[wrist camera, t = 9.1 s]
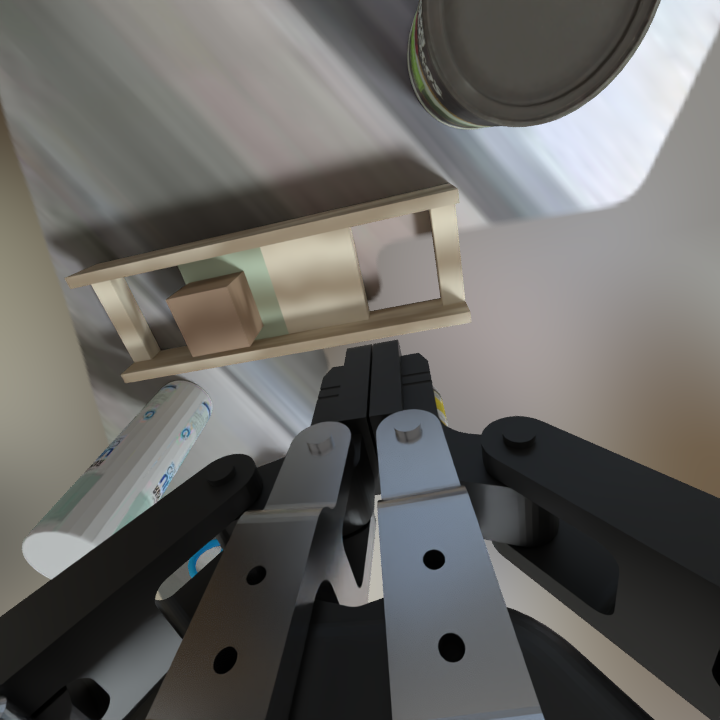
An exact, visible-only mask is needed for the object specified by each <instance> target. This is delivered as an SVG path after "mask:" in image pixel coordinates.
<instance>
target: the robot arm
mask: <svg viewBox="0 0 720 720" xmlns="http://www.w3.org/2000/svg"><path fill="white" fill-rule="evenodd" d="M320 389H321V391H320V392H319V396H318V400H317V404H316V407H315V411H314V415H313V419H312V423H311V426H310V427H308V428H306V429H304V430H303V431H301V432H300V433H299V434H298V435H297V436H296V437H295V438H294V440H293V441H292V443H291V445H290V448H289V450H288V452H287V455H286V457H284V458H282V459H279V460H277V461H274V462H271V463H269V464H266V465H263V466H260V467H258V468H257V467H256V465H255V463H254V461H253V459H252V458H251V457H250V456H247V455H244V454H232V455H228V456H225V457H222V458H220V459H217V460H215V461H214V462H212V463H210V464H209V465H207V466H206V467H205V468H203V469H202V470H200V471H199V472H198V473H196V474H195V475H194V476H192V477H191V478H189V479H188V480H187V481H185V482H184V483H183V484H181V485H180V486H179V487H177V488H176V489H174V490H173V491H172V492H170V493H169V494H168V495H166V496H165V497H164V498H162V499H161V500H159V501H158V502H157V503H155V504H154V505H153V506H151V507H150V508H148V509H147V510H146V511H144V512H143V513H142V514H140V515H139V516H138V517H136V518H135V519H133V520H132V521H131V522H129V523H128V524H127V525H125V526H124V527H122V528H121V529H120V530H118V531H117V532H116V533H114V534H113V535H112V536H110V537H109V538H107V539H106V540H105V541H103V542H102V543H101V544H99V545H98V546H97V547H95V548H94V549H92V550H91V551H90V552H88V553H87V554H86V555H84V556H83V557H81V558H80V559H79V560H77V561H76V562H75V563H73V564H72V565H71V566H69V567H68V568H66V569H65V570H64V571H62V572H61V573H60V574H58V575H57V576H56V577H54V578H53V579H51V580H50V581H49V582H47V583H46V584H45V585H43V586H42V587H41V588H39V589H38V590H36V591H35V592H34V593H32V594H31V595H30V596H28V597H27V598H25V599H24V600H23V601H21V602H20V603H19V604H17V605H16V606H15V607H13V608H12V609H10V610H9V611H8V612H6V613H5V614H4V615H2V616H1V617H0V720H654V719H653V718H652V717H651V716H650V715H649V714H647V713H646V712H645V711H644V710H643V709H642V708H641V707H640V706H639V705H637V704H636V703H635V702H634V701H633V700H632V699H631V698H630V697H629V696H627V695H626V694H625V693H624V692H623V691H622V690H621V689H620V688H619V687H618V686H616V685H615V684H614V683H613V682H612V681H611V680H610V679H609V678H608V677H607V676H606V675H604V674H603V673H602V672H601V671H600V670H599V669H598V668H597V667H596V666H594V665H593V664H592V663H591V662H590V661H589V660H588V659H587V658H586V657H585V656H583V655H582V654H581V653H580V652H579V651H578V650H577V649H576V648H575V647H573V646H572V645H571V644H570V643H569V642H568V641H566V640H565V639H564V638H563V637H561V636H560V635H558V634H557V633H556V632H554V631H553V630H552V629H550V628H549V627H547V626H546V625H544V624H542V623H540V622H539V621H537V620H535V619H534V618H532V617H530V616H528V615H525V614H523V613H521V612H519V611H516V610H514V609H511V608H508V607H506V604H505V601H504V598H503V595H502V592H501V590H500V587H499V583H498V580H497V578H496V575H495V572H494V569H493V566H492V563H491V560H490V557H489V554H488V551H487V548H486V545H485V542H484V539H486V540H491V541H492V543H493V545H494V547H495V548H496V549H497V551H498V552H499V553H500V554H501V555H502V556H504V557H505V558H506V559H507V560H509V561H510V562H511V563H512V564H514V565H515V566H516V567H518V568H519V569H520V570H521V571H523V572H524V573H525V574H526V575H528V576H529V577H530V578H531V579H533V580H534V581H535V582H537V583H538V584H539V585H540V586H542V587H543V588H544V589H545V590H547V591H548V592H549V593H551V594H552V595H553V596H554V597H556V598H557V599H558V600H559V601H561V602H562V603H563V604H564V605H566V606H567V607H568V608H570V609H571V610H572V611H574V612H575V613H576V614H577V615H578V616H580V617H581V618H583V619H584V620H585V621H586V622H588V623H589V624H590V625H591V626H593V627H594V628H595V629H596V630H598V631H599V632H600V633H602V634H603V635H604V636H605V637H606V638H608V639H609V640H610V641H611V642H613V643H614V644H615V645H617V646H618V647H619V648H620V649H622V650H623V651H624V652H625V653H627V654H628V655H629V656H631V657H632V658H633V659H634V660H636V661H637V662H638V663H639V664H641V665H642V666H643V667H645V668H646V669H647V670H648V671H650V672H651V673H652V674H653V675H655V676H656V677H657V678H658V679H660V680H661V681H662V682H664V683H665V684H666V685H667V686H669V687H670V688H671V689H672V690H674V691H675V692H676V693H677V694H679V695H680V696H682V697H683V698H684V699H685V700H687V701H688V702H689V703H690V704H692V705H693V706H694V707H695V708H697V709H698V710H699V711H700V712H702V713H703V714H704V715H706V716H707V717H708V718H709V719H711V720H720V498H717V497H715V496H713V495H711V494H708V493H706V492H704V491H701V490H699V489H697V488H694V487H692V486H689V485H688V484H685V483H683V482H681V481H678V480H676V479H674V478H671V477H669V476H667V475H665V474H662V473H660V472H658V471H655V470H653V469H651V468H648V467H646V466H644V465H641V464H639V463H637V462H634V461H632V460H630V459H628V458H625V457H623V456H621V455H619V454H616V453H614V452H612V451H609V450H607V449H604V448H602V447H600V446H598V445H595V444H593V443H591V442H589V441H586V440H584V439H582V438H579V437H577V436H575V435H572V434H570V433H568V432H566V431H563V430H561V429H559V428H556V427H554V426H552V425H549V424H547V423H545V422H543V421H540V420H537V419H534V418H530V417H523V416H513V417H506V418H502V419H499V420H496V421H494V422H492V423H490V424H489V425H488V426H487V427H486V428H485V429H484V430H483V432H482V434H481V435H478V434H468V433H462V432H458V431H455V430H453V429H451V428H449V427H447V426H446V425H445V424H444V423H443V422H442V421H441V420H440V418H439V415H438V411H437V406H436V401H435V395H434V390H433V386H432V380H431V375H430V369H429V364H428V361H427V360H426V359H425V358H424V357H423V356H422V355H421V354H419V353H416V354H410V355H404V356H402V355H401V351H400V345H399V342H398V340H393V341H388V342H382V343H377V344H373V346H372V344H371V345H365V346H360V347H354V348H348V349H347V352H346V357H345V363H344V366H339V367H333V368H332V369H331V370H330V371H329V372H328V373H327V374H326V375H325V376H324V378H323V380H322V384H321V388H320ZM380 494H381V497H382V500H379V501H378V505H377V508H378V523H379V538H380V552H381V566H382V579H383V593H384V598H382V599H379V600H376V601H373V602H370V603H368V594H369V584H370V576H371V566H372V558H373V548H374V539H375V530H376V518H375V514H374V498H375V495H380ZM214 537H216V538H217V540H218V542H219V544H220V545H221V547H222V549H223V551H222V552H220V553H219V554H218V555H217V556H216V557H215V558H214V559H213V560H212V561H210V562H209V563H208V564H207V565H206V566H205V567H204V568H203V569H202V570H200V571H199V572H198V573H197V574H196V575H195V576H194V577H193V578H192V579H190V580H189V581H188V582H187V583H186V584H185V585H184V586H183V587H182V588H180V589H179V590H178V591H177V592H176V593H175V594H174V595H172V596H171V597H169V598H167V599H165V600H155V596H156V593H157V591H158V589H159V587H160V586H161V584H162V583H163V582H164V581H165V580H166V579H167V578H168V577H169V576H170V575H171V574H173V573H174V572H175V571H176V570H177V569H178V568H179V567H181V566H182V565H183V564H184V563H185V562H186V561H188V560H189V559H190V558H191V557H192V556H193V555H194V554H196V553H197V552H198V551H199V550H200V549H201V548H203V547H204V546H205V545H206V544H207V543H208V542H210V541H211V540H212V539H213V538H214Z"/></svg>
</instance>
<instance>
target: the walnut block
mask: <svg viewBox="0 0 720 720" xmlns="http://www.w3.org/2000/svg"><path fill="white" fill-rule="evenodd" d="M166 302H167V304H168V306H169V308H170V310H171V312H172V315H173V317H174V319H175V321H176V323H177V325H178V327H179V329H180V331H181V333H182V335H183V338H184V340H185V342H186V344H187V346H188V348H189V350H190V352H191V354H192V356H193V357H196V356H201V355H207V354H212V353H217V352H223V351H228V350H233V349H239V348H244V347H249V346H251V344H252V343H253V341H254V340H255V338H256V337H257V335H258V334H259V332H260V330H261V329H262V327H263V326H264V325H263V322H262V319H261V317H260V314H259V311H258V309H257V306H256V303H255V300H254V298H253V295H252V292H251V289H250V287H249V284H248V281H247V279H246V276H245V273H244V271H241V272H237V273H232V274H227V275H223V276H218V277H214V278H209V279H204V280H200V281H195V282H191V283H188V284H187V285H185V286H184V287H182V288H181V289H180V290H178V291H177V292H176V293H174V294H173V295H172V296H170V297H169V298H167V299H166Z"/></svg>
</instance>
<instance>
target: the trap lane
mask: <svg viewBox="0 0 720 720" xmlns="http://www.w3.org/2000/svg"><path fill="white" fill-rule="evenodd" d="M457 203H459V193H458V189H457V188H456V187H455V186H453V185H452V184H450V183H448V184H444V185H439V186H435V187H431V188H426V189H422V190H418V191H413V192H409V193H405V194H400V195H396V196H392V197H387V198H383V199H378V200H374V201H370V202H365V203H361V204H357V205H352V206H348V207H344V208H339V209H335V210H331V211H326V212H322V213H317V214H313V215H309V216H304V217H300V218H296V219H291V220H287V221H283V222H278V223H274V224H270V225H265V226H261V227H256V228H252V229H248V230H243V231H239V232H235V233H230V234H226V235H222V236H217V237H213V238H208V239H204V240H200V241H195V242H191V243H187V244H182V245H178V246H174V247H169V248H165V249H161V250H156V251H152V252H147V253H143V254H139V255H134V256H130V257H126V258H121V259H117V260H113V261H108V262H104V263H100V264H96V265H94V266H91V267H89V268H87V269H84V270H82V271H80V272H77V273H75V274H73V275H71V276H68V277H66V278H65V280H66V282H67V284H68V285H69V287H70V289H73V288H77V287H82V286H86V285H92V287H93V289H94V291H95V292H96V294H97V296H98V298H99V300H100V301H101V303H102V305H103V307H104V309H105V310H106V312H107V314H108V316H109V318H110V319H111V321H112V323H113V325H114V327H115V328H116V330H117V332H118V334H119V336H120V338H121V339H122V341H123V343H124V345H125V347H126V348H127V350H128V352H129V354H130V356H131V357H132V359H133V361H134V363H133V364H132V365H131V366H130V367H129V368H128V369H127V370H125V371H124V372H123V373H122V374H121V377H122V378H123V380H124V382H125V383H130V382H136V381H141V380H147V379H153V378H158V377H164V376H170V375H175V374H181V373H187V372H192V371H198V370H204V369H209V368H215V367H221V366H226V365H232V364H238V363H243V362H249V361H255V360H261V359H266V358H272V357H278V356H283V355H289V354H295V353H300V352H306V351H312V350H317V349H323V348H329V347H334V346H340V345H346V344H351V343H357V342H363V341H368V340H374V339H380V338H385V337H391V336H396V335H402V334H408V333H414V332H419V331H425V330H431V329H437V328H442V327H448V326H453V325H459V324H464V323H471V314H470V310H469V308H468V306H467V304H466V302H465V295H464V286H463V275H462V266H461V256H460V246H459V237H458V227H457V218H456V208H455V204H457ZM425 210H429V215H430V223H431V230H432V237H433V245H434V252H435V260H436V267H437V274H438V282H439V289H440V297H441V298H439V299H433V300H428V301H423V302H417V303H412V304H407V305H402V306H396V307H391V308H385V309H381V310H374V311H369V306H368V302H367V297H366V293H365V288H364V284H363V279H362V275H361V271H360V266H359V262H358V257H357V253H356V248H355V244H354V239H353V235H352V230H351V227H353V226H357V225H362V224H366V223H371V222H376V221H380V220H385V219H389V218H394V217H398V216H403V215H407V214H412V213H416V212H421V211H425ZM177 265H178V268H179V270H180V272H181V274H182V277H183V279H184V281H185V284H186V285H187V284H188V283H191V282H195V281H200V280H204V279H209V278H214V277H218V276H223V275H227V274H232V273H237V272H241V271H244V273H245V276H246V279H247V281H248V284H249V287H250V289H251V292H252V295H253V298H254V300H255V303H256V306H257V309H258V311H259V314H260V317H261V319H262V322H263V325H264V326H263V327H262V329H261V330H260V332H259V334H258V335H257V337H256V338H255V340H254V341H253V343H252V344H251V346H249V347H244V348H239V349H233V350H228V351H223V352H217V353H212V354H207V355H201V356H196V357H193V356H192V354H191V352H190V350H189V348H188V346H182V347H177V348H171V349H166V350H160V348H159V346H158V344H157V342H156V340H155V338H154V336H153V334H152V332H151V330H150V328H149V326H148V324H147V322H146V320H145V318H144V316H143V314H142V312H141V310H140V308H139V306H138V304H137V302H136V301H135V299H134V297H133V295H132V293H131V291H130V289H129V287H128V285H127V283H126V281H125V279H124V277H127V276H131V275H136V274H141V273H145V272H150V271H154V270H159V269H163V268H168V267H172V266H177Z"/></svg>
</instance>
